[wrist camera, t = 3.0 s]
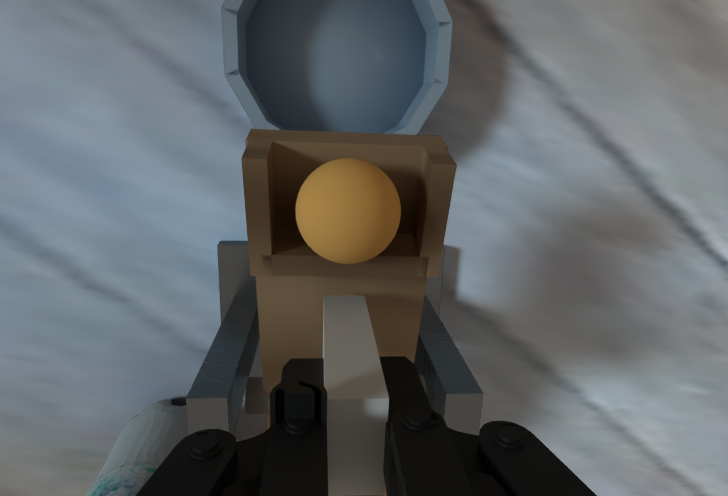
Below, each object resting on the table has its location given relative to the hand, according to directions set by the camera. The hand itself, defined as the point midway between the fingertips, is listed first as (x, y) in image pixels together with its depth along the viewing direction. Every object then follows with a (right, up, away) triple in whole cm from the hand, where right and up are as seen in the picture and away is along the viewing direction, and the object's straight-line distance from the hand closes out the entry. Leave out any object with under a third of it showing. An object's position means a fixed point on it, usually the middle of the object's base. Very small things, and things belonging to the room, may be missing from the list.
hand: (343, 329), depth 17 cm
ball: (0, +4, -3) cm, 5 cm away
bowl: (-1, +14, +10) cm, 17 cm away
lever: (-1, 0, +9) cm, 9 cm away
